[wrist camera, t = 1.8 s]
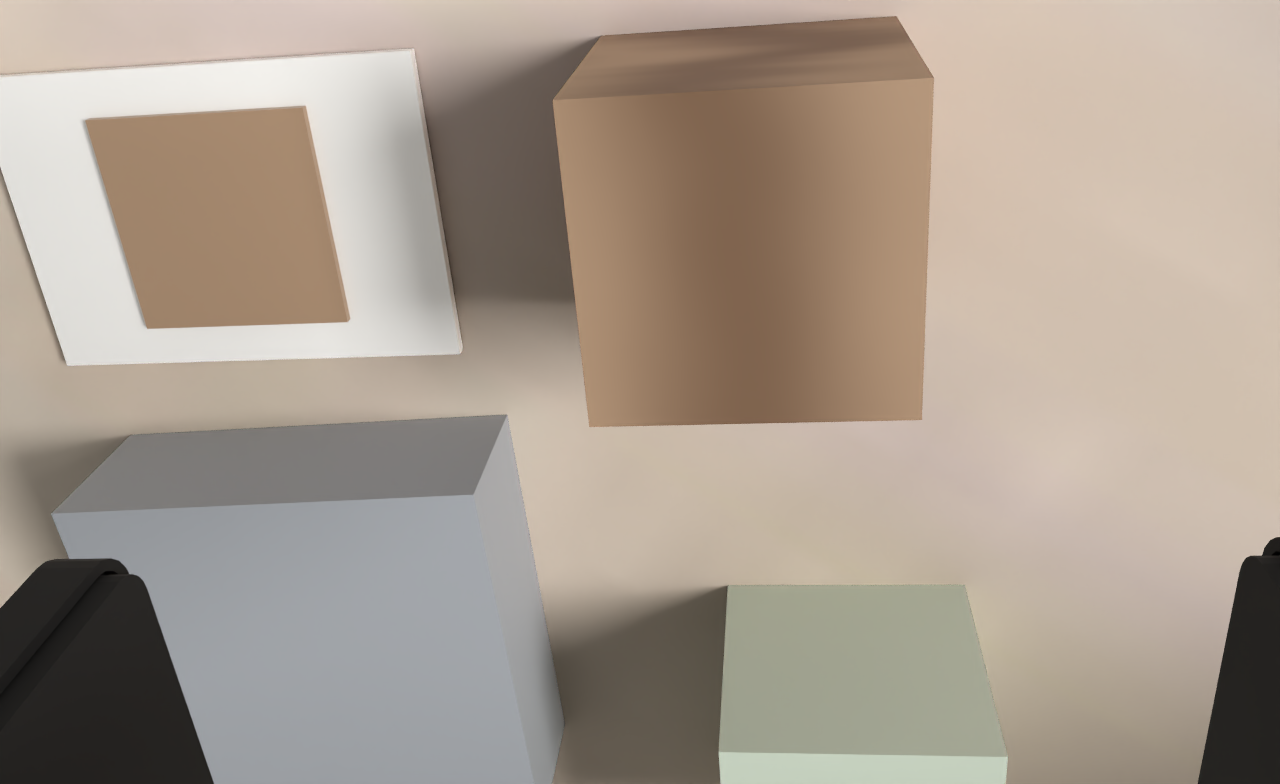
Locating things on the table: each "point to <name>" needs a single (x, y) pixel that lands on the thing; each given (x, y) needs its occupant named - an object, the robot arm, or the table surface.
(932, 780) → the sage cube
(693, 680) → the table surface
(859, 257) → the walnut cube
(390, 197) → the card
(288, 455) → the slate base block
